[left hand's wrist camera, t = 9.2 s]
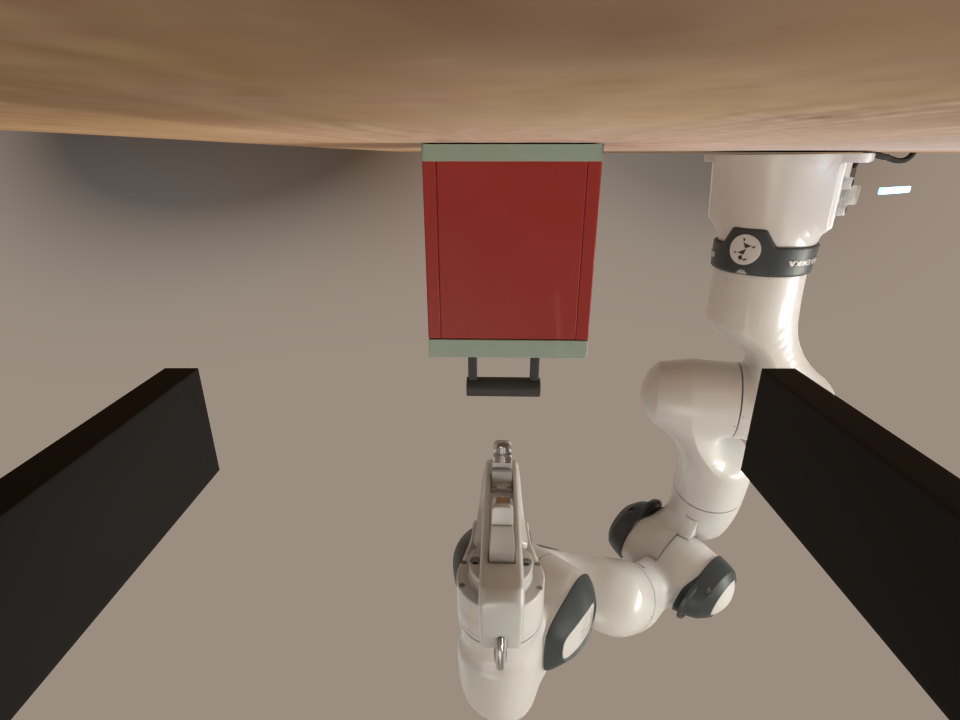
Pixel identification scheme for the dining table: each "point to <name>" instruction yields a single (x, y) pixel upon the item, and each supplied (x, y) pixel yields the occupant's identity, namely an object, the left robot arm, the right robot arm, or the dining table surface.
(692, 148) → the dining table surface
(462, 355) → the lid
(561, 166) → the chest
